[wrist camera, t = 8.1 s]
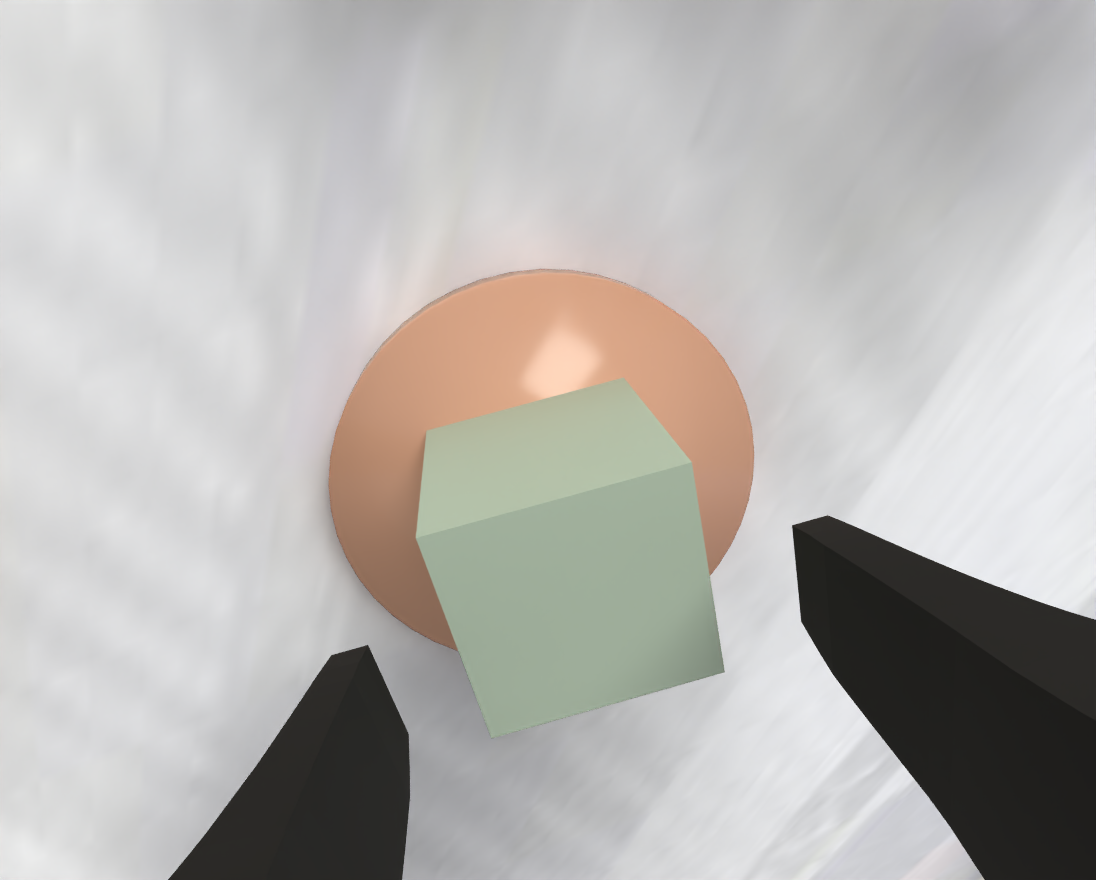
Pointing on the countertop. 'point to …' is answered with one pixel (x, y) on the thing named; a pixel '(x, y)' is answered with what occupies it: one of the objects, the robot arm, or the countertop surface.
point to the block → (567, 555)
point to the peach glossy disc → (515, 379)
